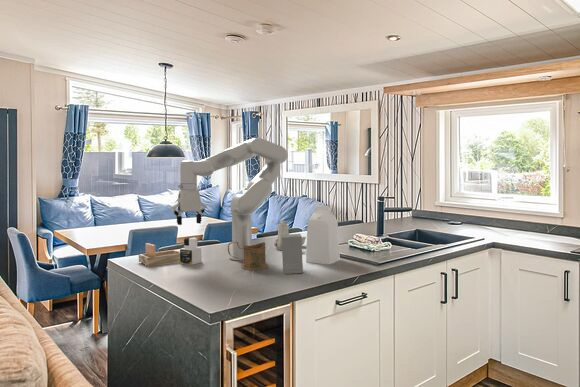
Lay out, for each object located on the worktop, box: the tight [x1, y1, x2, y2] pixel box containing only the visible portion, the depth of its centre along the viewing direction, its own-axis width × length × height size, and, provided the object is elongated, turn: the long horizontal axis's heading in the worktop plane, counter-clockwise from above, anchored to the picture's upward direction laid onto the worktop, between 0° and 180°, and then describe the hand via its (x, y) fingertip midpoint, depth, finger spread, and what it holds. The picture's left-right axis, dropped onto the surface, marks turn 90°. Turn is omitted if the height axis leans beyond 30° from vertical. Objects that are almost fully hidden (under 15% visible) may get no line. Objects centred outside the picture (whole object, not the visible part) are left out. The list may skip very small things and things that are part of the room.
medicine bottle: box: [179, 236, 203, 266], centre depth 209 cm, size 7×7×12 cm
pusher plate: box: [144, 242, 157, 257], centre depth 209 cm, size 9×1×8 cm, turn 39°
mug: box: [227, 241, 269, 271], centre depth 197 cm, size 12×18×12 cm, turn 111°
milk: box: [305, 204, 341, 265], centre depth 208 cm, size 12×12×26 cm
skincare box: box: [281, 233, 304, 275], centre depth 185 cm, size 8×7×16 cm
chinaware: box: [273, 219, 307, 251], centre depth 243 cm, size 28×17×17 cm, turn 171°
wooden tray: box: [138, 249, 180, 267], centre depth 213 cm, size 12×18×4 cm, turn 129°
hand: (189, 224), depth 208 cm, fingers open, 9 cm apart
